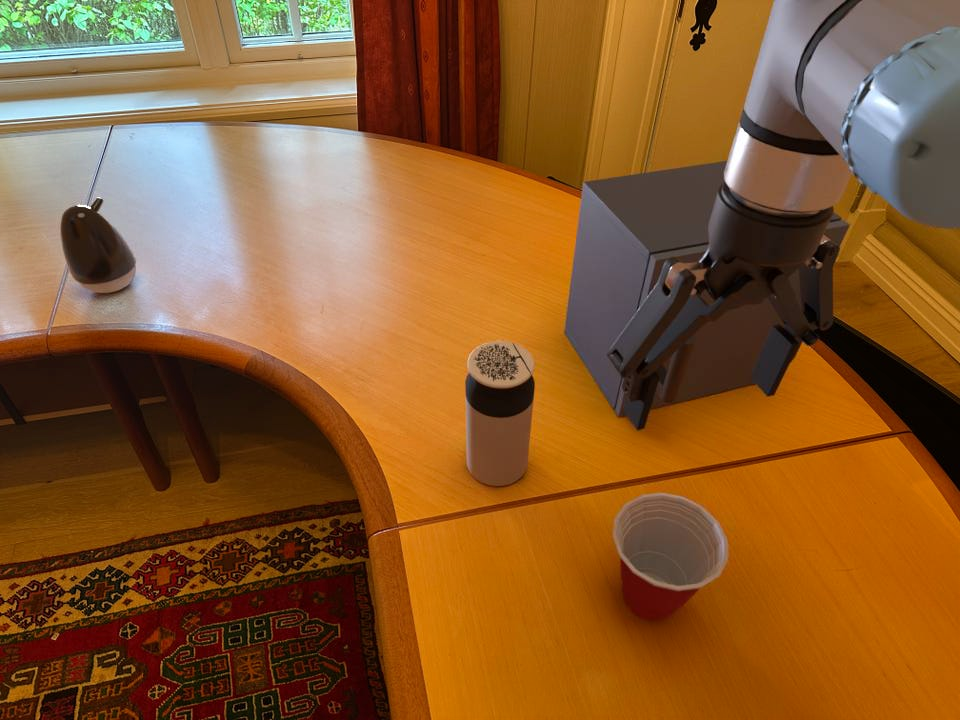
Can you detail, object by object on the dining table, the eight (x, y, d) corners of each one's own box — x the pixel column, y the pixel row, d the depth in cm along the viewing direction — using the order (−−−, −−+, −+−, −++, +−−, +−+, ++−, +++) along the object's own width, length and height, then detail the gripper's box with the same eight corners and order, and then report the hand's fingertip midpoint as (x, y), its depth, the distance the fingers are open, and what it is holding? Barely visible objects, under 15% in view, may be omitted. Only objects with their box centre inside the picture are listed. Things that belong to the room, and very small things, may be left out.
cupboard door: (804, 406, 87) (888, 250, 69) (639, 449, 81) (684, 290, 63) (772, 373, 92) (843, 219, 74) (614, 411, 86) (650, 254, 68)
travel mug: (472, 492, 76) (472, 392, 64) (461, 443, 82) (459, 343, 69) (534, 482, 77) (545, 382, 65) (519, 435, 83) (526, 334, 70)
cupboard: (771, 372, 92) (842, 217, 74) (613, 410, 86) (649, 252, 68) (705, 303, 104) (752, 156, 87) (563, 332, 99) (583, 181, 81)
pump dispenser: (156, 272, 111) (123, 196, 101) (117, 305, 103) (77, 227, 93) (110, 263, 113) (73, 188, 103) (68, 295, 106) (23, 218, 95)
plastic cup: (639, 532, 72) (660, 470, 64) (718, 599, 66) (752, 541, 58) (576, 588, 67) (590, 529, 58) (655, 667, 61) (683, 613, 52)
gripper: (882, 145, 47) (786, 348, 61) (587, 192, 41) (558, 403, 56) (966, 190, 42) (838, 400, 56) (641, 250, 36) (594, 466, 51)
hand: (699, 402), depth 56 cm, fingers open, 13 cm apart
